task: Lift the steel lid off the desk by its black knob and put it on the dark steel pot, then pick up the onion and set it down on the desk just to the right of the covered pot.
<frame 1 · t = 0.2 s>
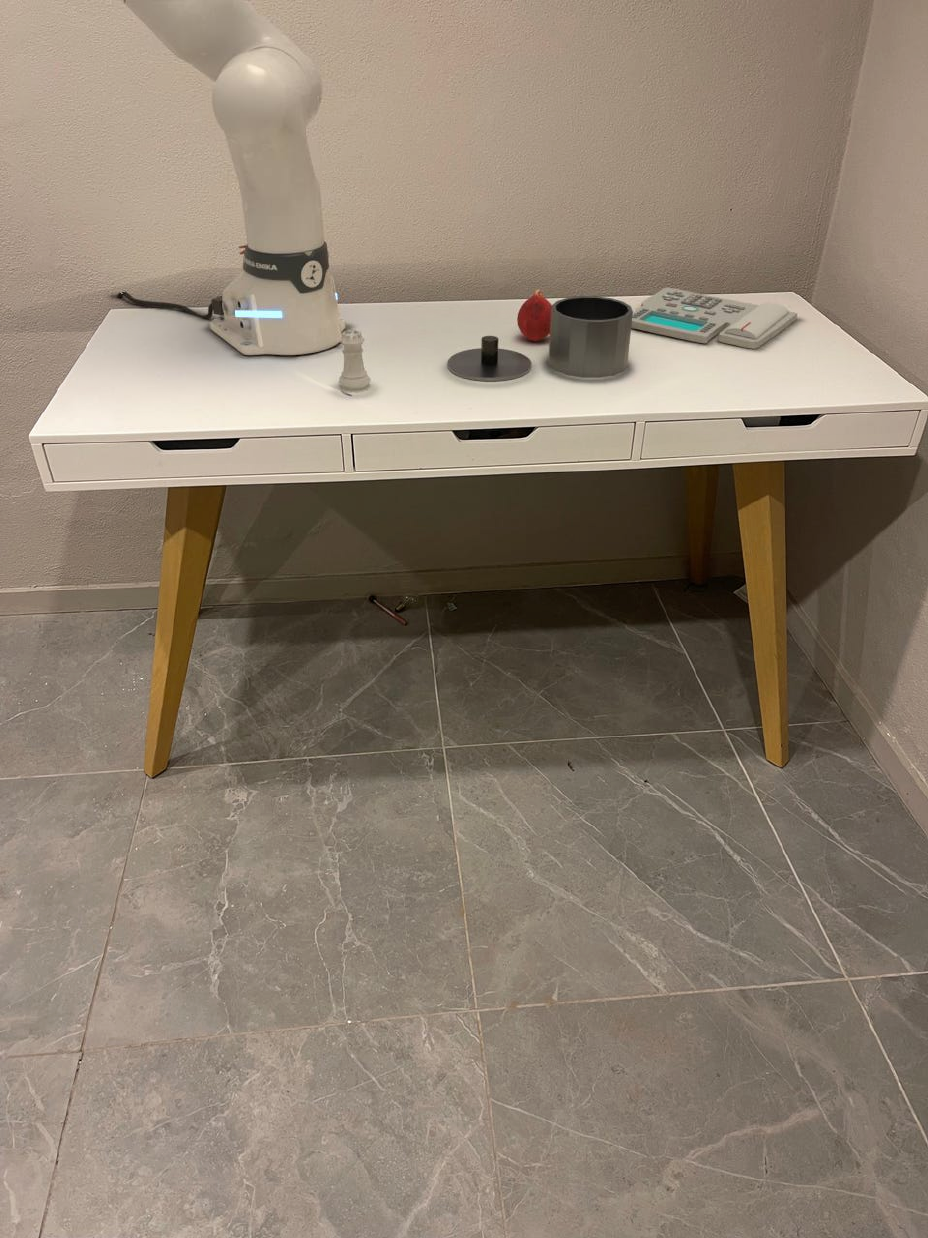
rook chess piece: (355, 391, 133), on the table
pot: (587, 366, 140), on the table
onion: (535, 344, 148), on the table
lid: (489, 365, 139), point 1 cm above the table
office telephone: (706, 323, 156), on the table
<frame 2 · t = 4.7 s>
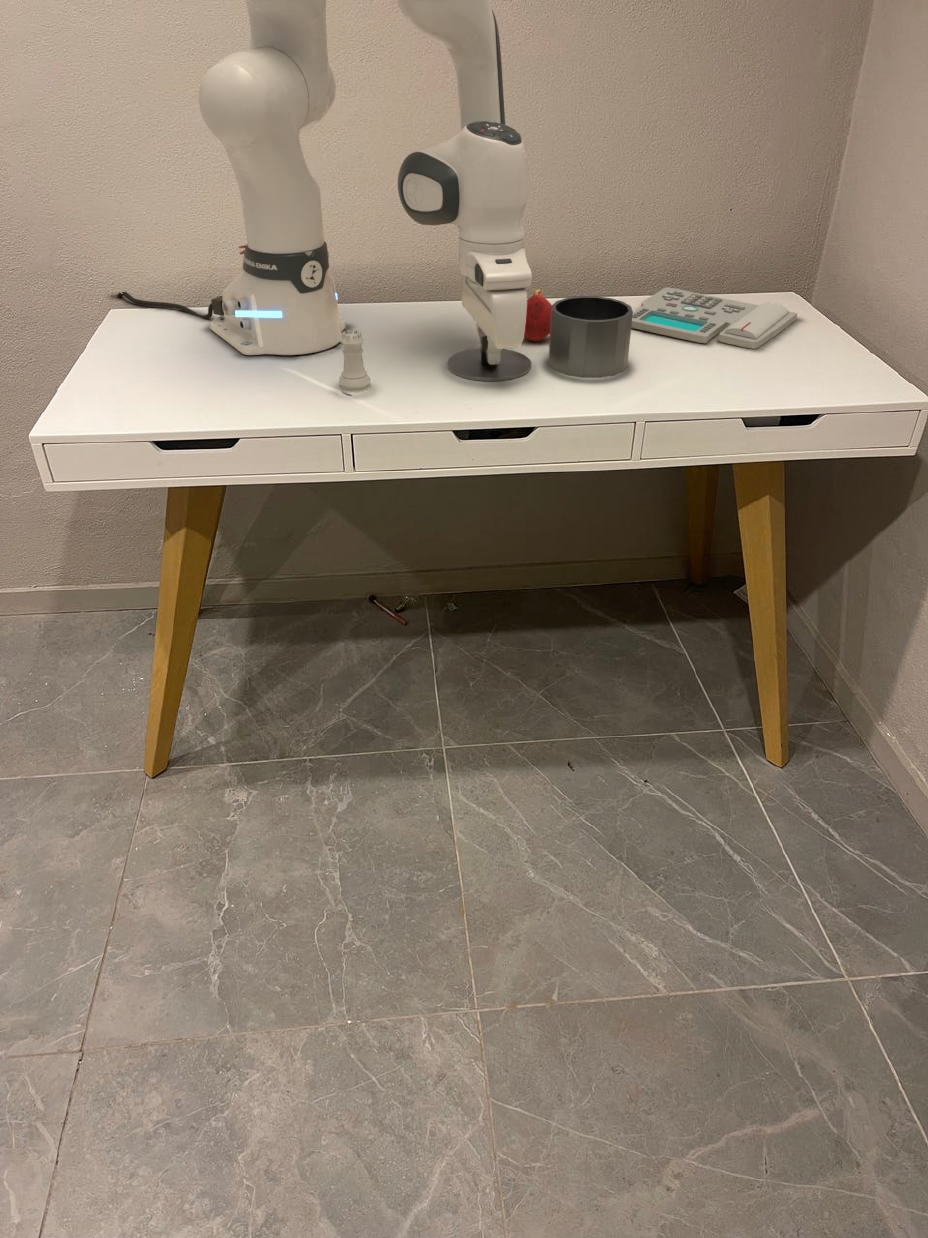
hand: (489, 358, 138), 2 cm above the table, tool pointing down, fingers closed on lid, 2 cm apart
lid: (489, 365, 139), point 1 cm above the table, touching gripper
everything else where it was.
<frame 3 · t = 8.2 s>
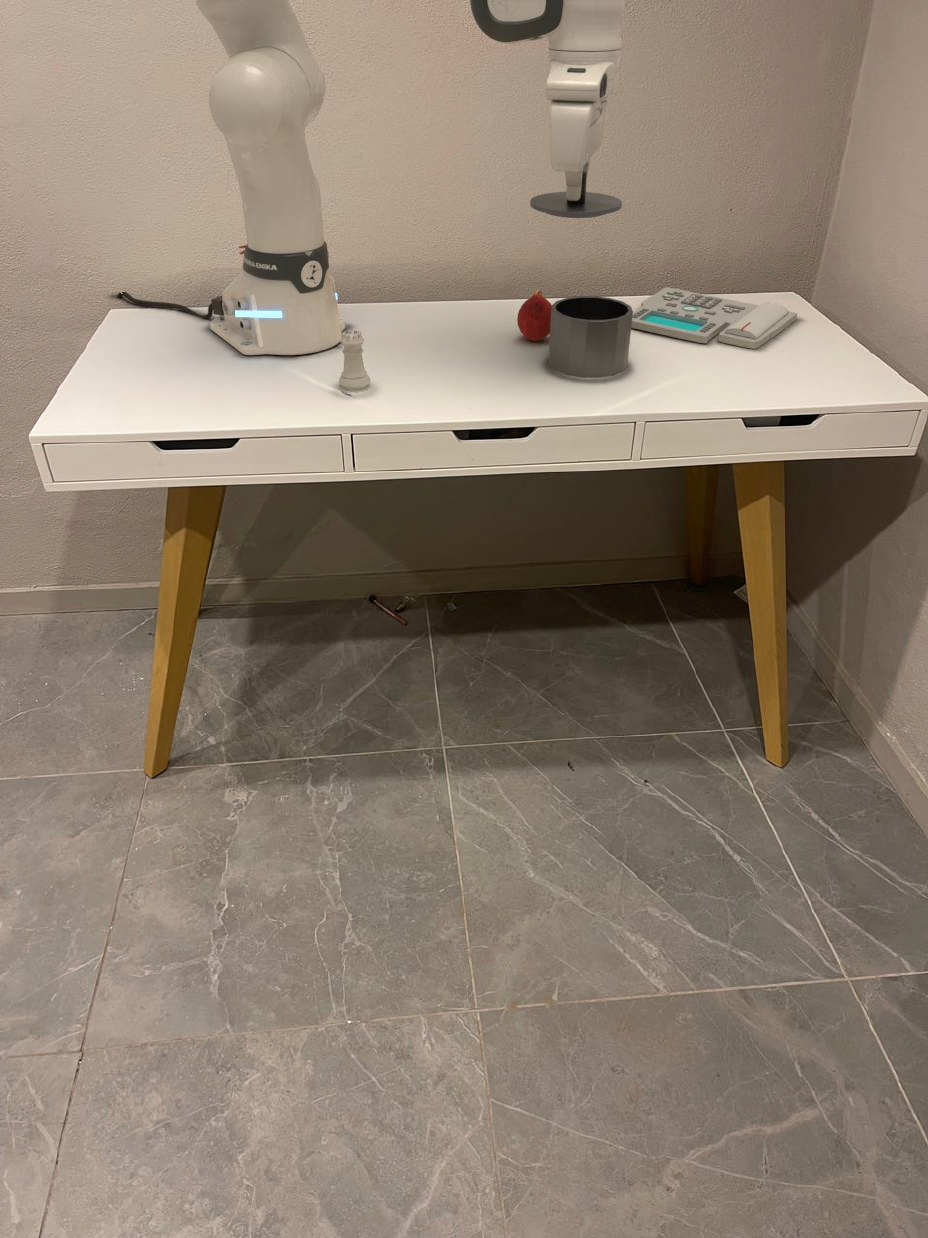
hand: (575, 196, 126), 23 cm above the table, tool pointing down, fingers closed on lid, 2 cm apart
lid: (575, 205, 127), point 22 cm above the table, touching gripper
everything else where it was.
when the fingers open (9 cm above the table, at t = 11.7 s): lid stays where it is, resting on pot.
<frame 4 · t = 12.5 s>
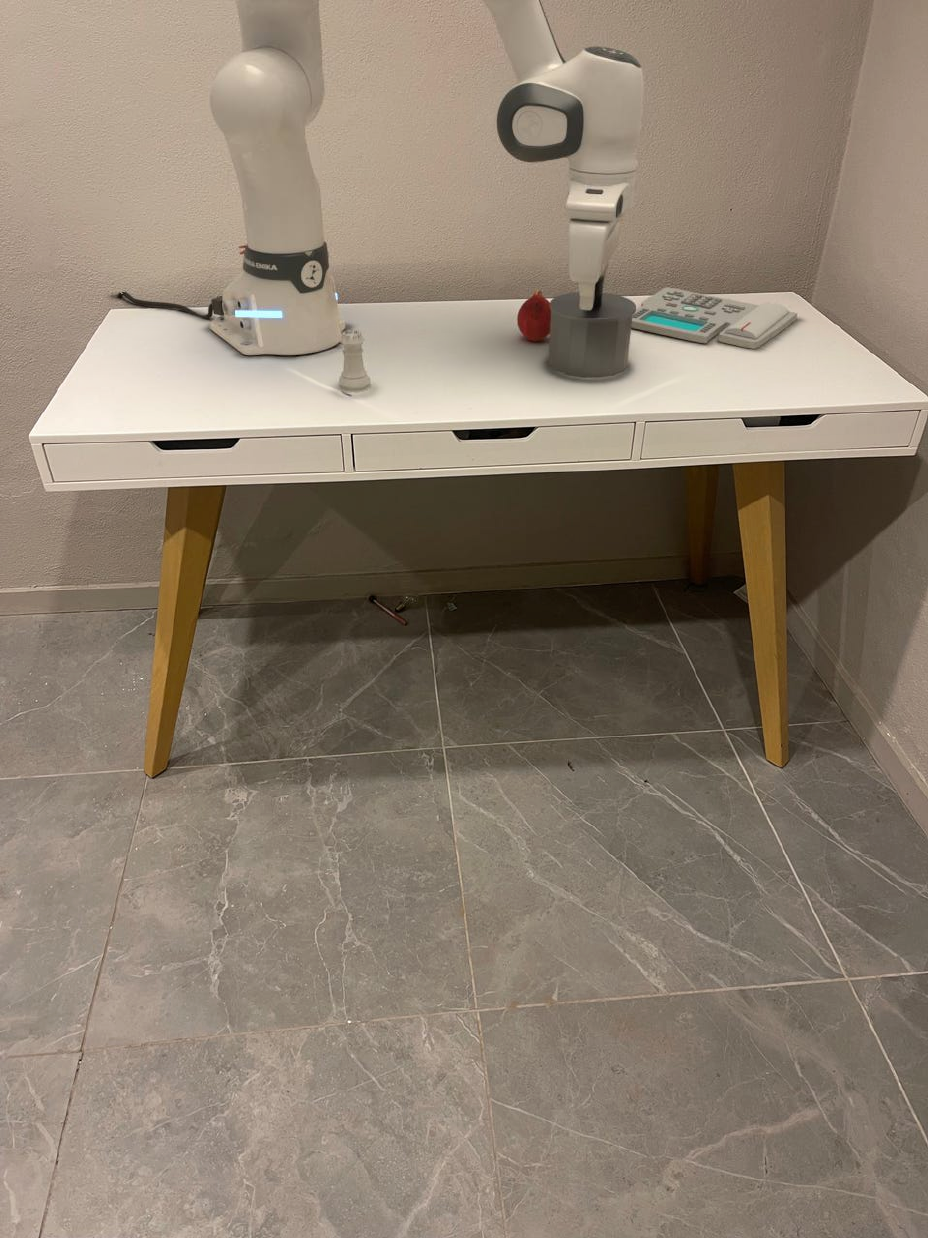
hand: (592, 298, 134), 10 cm above the table, tool pointing down, fingers open, 8 cm apart
lid: (592, 307, 135), point 8 cm above the table, touching pot
everything else where it was.
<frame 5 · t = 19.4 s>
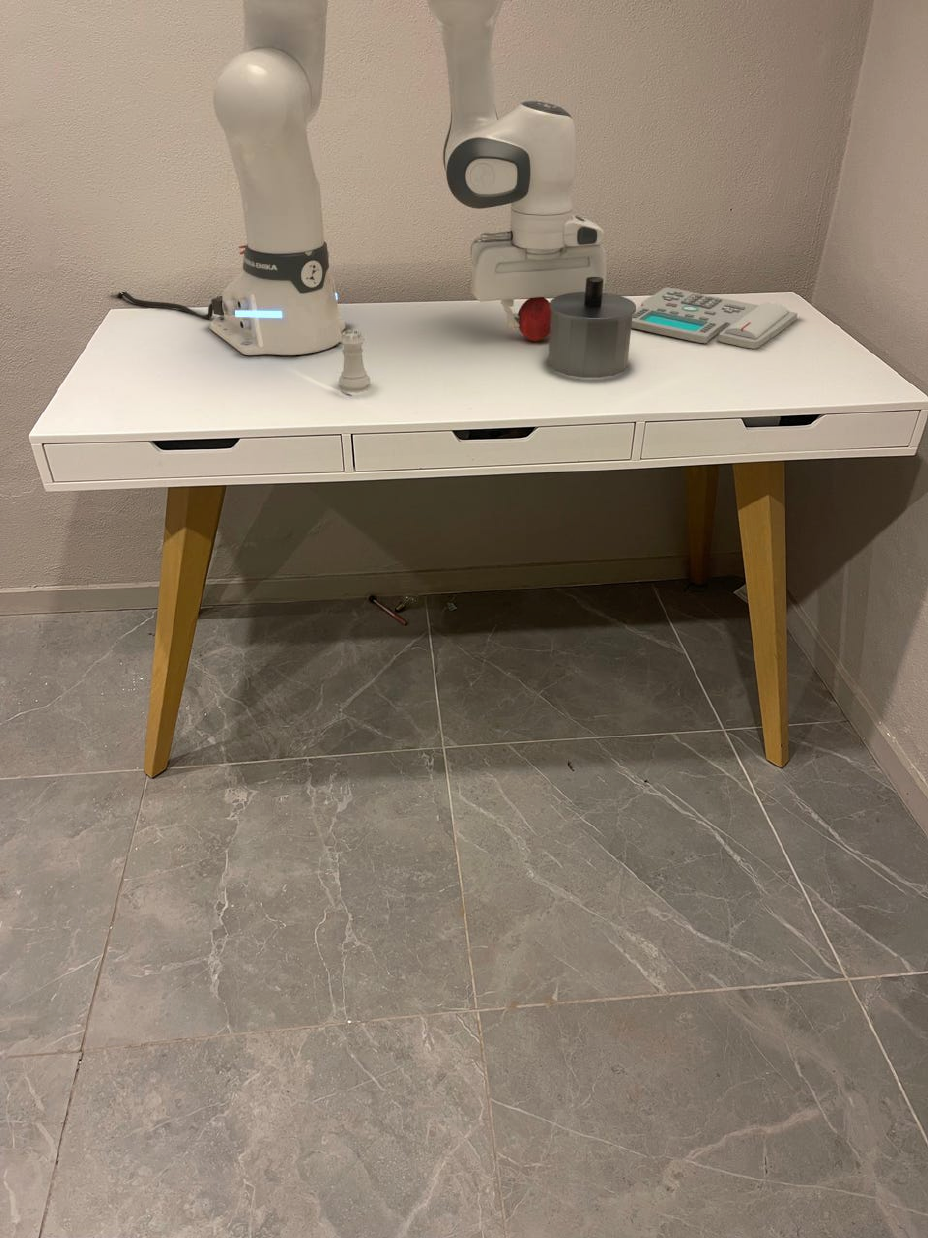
hand: (536, 325, 146), 3 cm above the table, tool pointing down, fingers closed on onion, 6 cm apart
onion: (535, 344, 148), on the table, touching gripper
everything else where it was.
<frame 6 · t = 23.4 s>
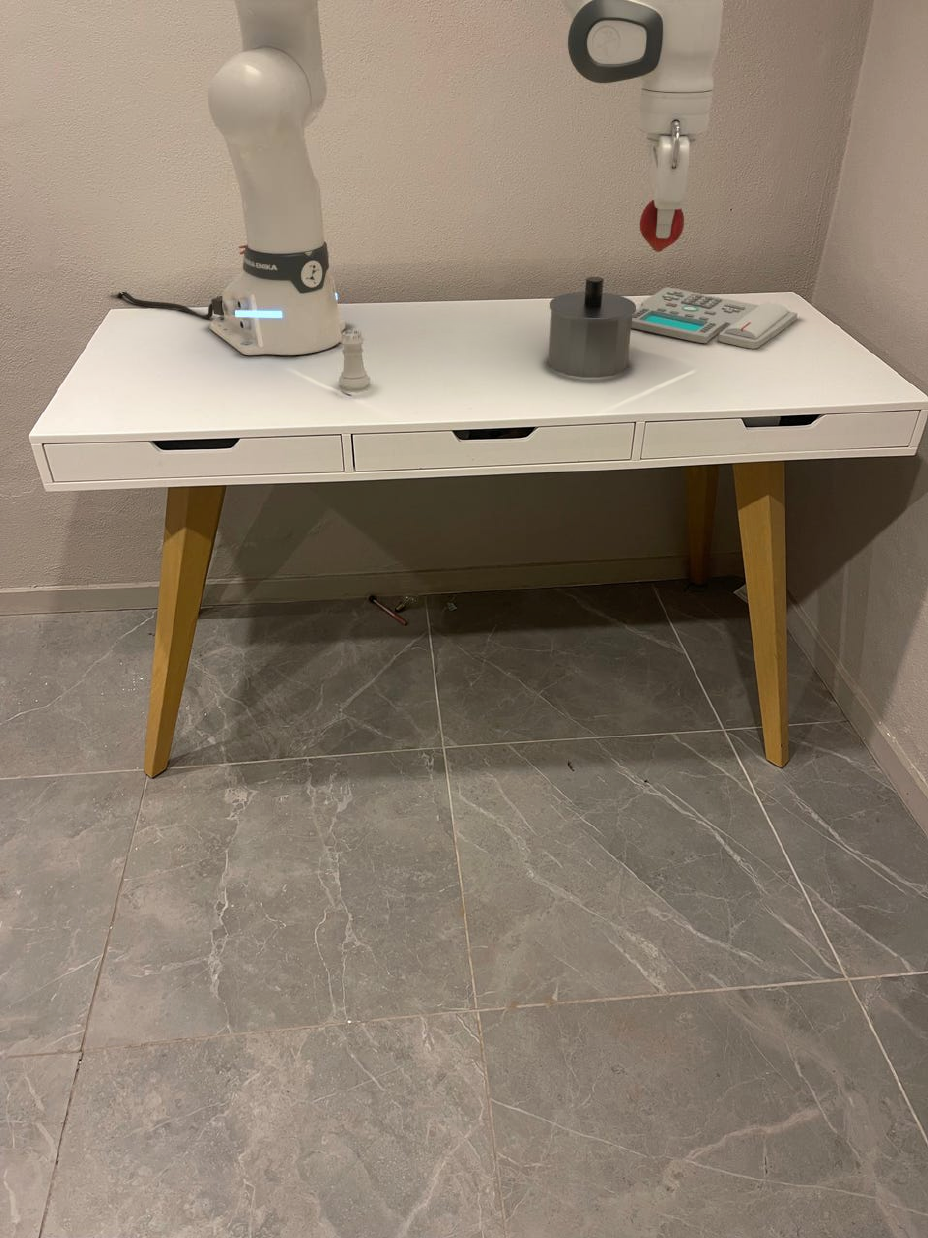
hand: (661, 229, 129), 19 cm above the table, tool pointing down, fingers closed on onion, 6 cm apart
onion: (658, 252, 131), point 16 cm above the table, touching gripper
everything else where it was.
when the fingers open (3 cm above the table, at t = 27.6 s): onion stays where it is, on the table.
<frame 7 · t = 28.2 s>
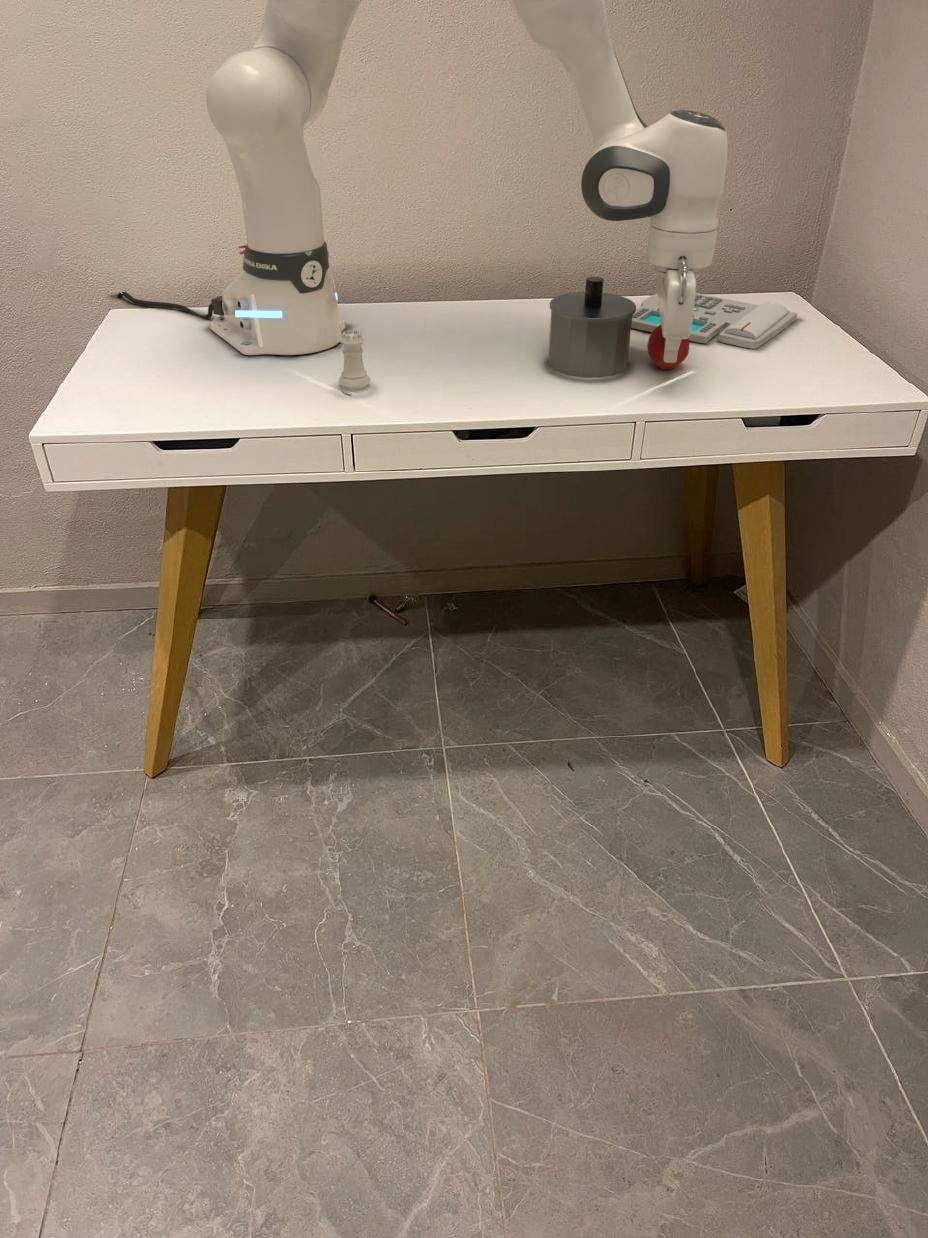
hand: (667, 348, 137), 3 cm above the table, tool pointing down, fingers open, 8 cm apart
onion: (664, 371, 139), on the table
everything else where it was.
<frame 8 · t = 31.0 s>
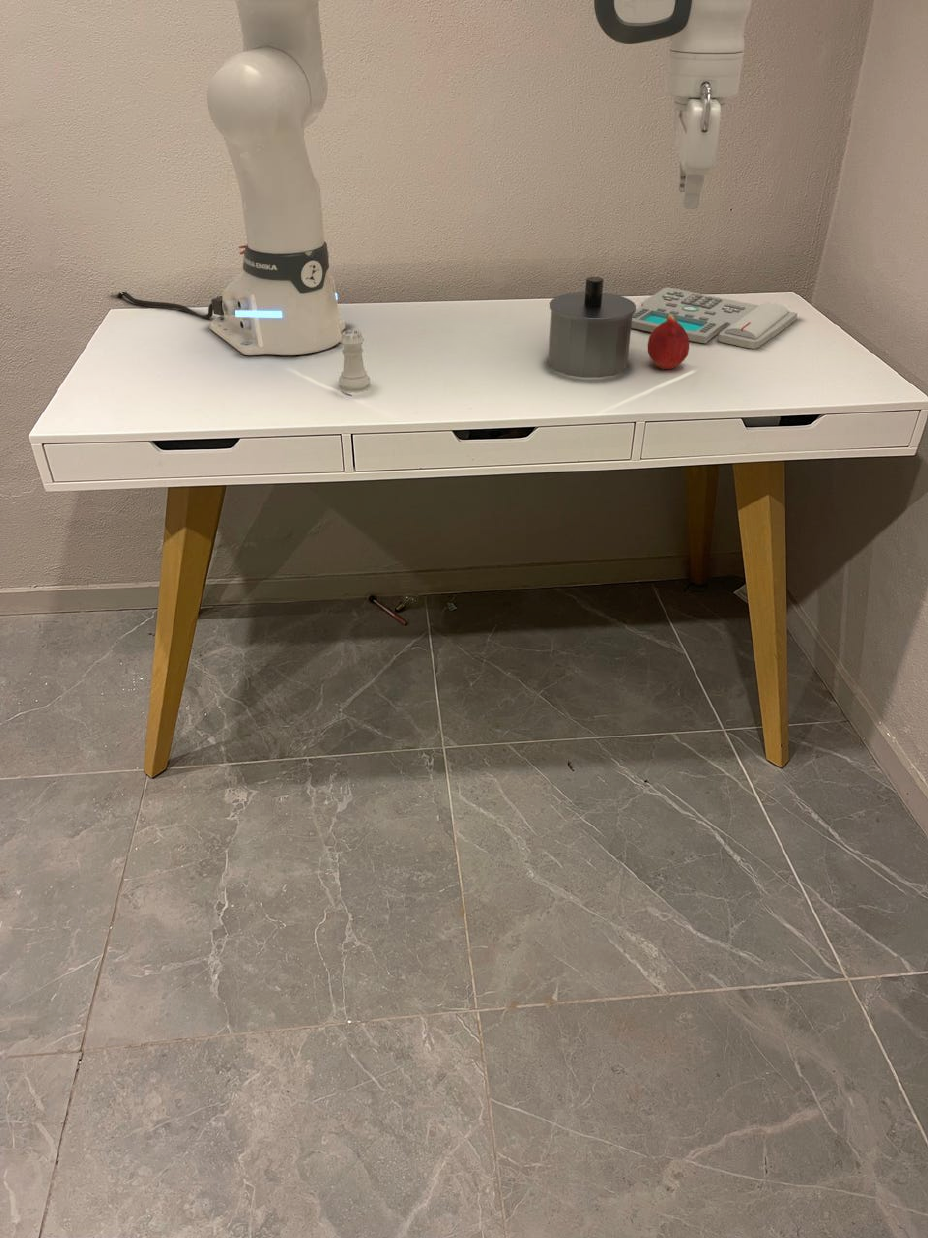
hand: (687, 199, 126), 23 cm above the table, tool pointing down, fingers open, 8 cm apart
nothing on the table moved.
at the end: lid 0.1 cm off-centre on the pot, point 8.5 cm above the pot's base; lid tilted 0°; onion inside the target area on the table beside the pot (0.9 cm from its centre), on the table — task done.
